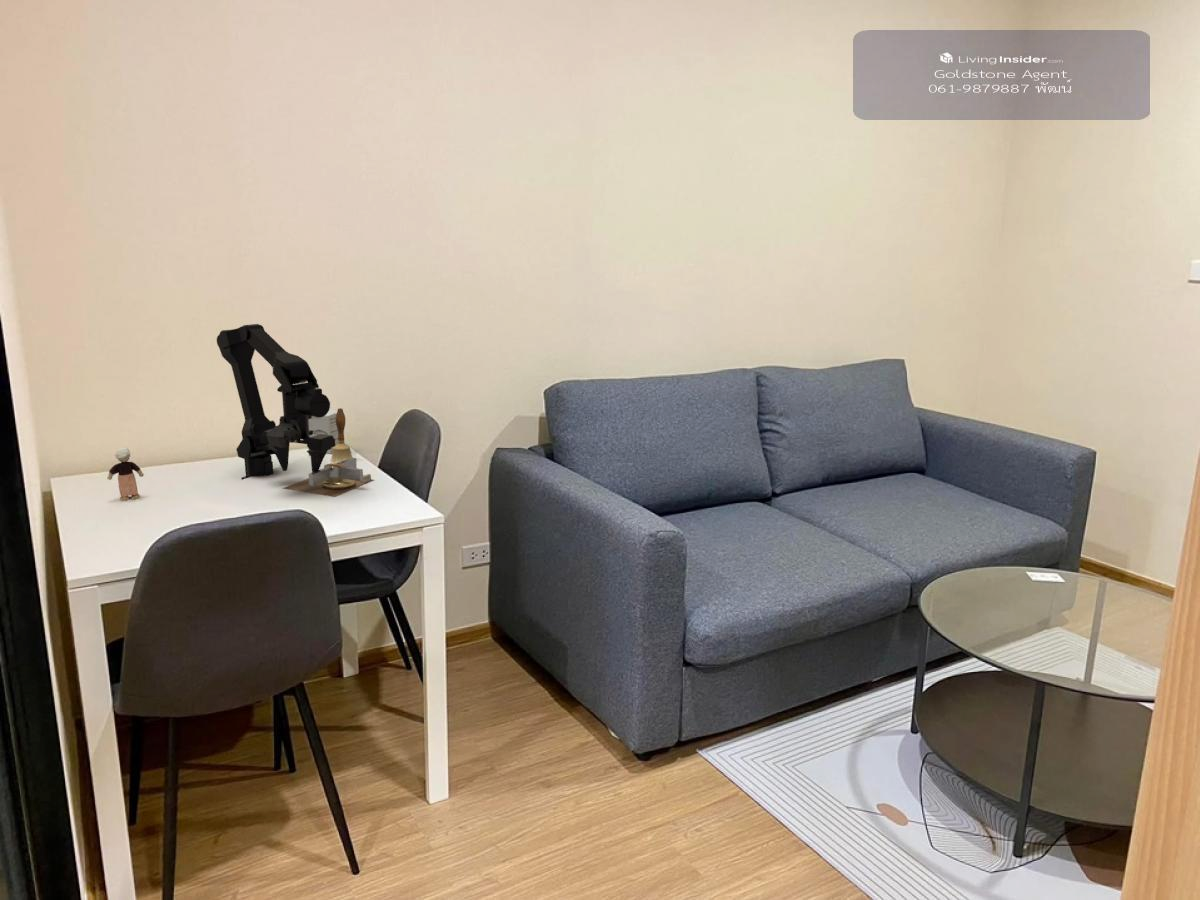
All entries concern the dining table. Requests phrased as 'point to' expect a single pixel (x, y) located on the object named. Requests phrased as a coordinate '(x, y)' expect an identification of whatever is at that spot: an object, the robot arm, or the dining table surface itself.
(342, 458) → the hand bell
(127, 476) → the grandmother figurine
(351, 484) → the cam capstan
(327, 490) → the stand
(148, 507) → the dining table surface
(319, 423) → the supplement box
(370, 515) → the dining table surface
